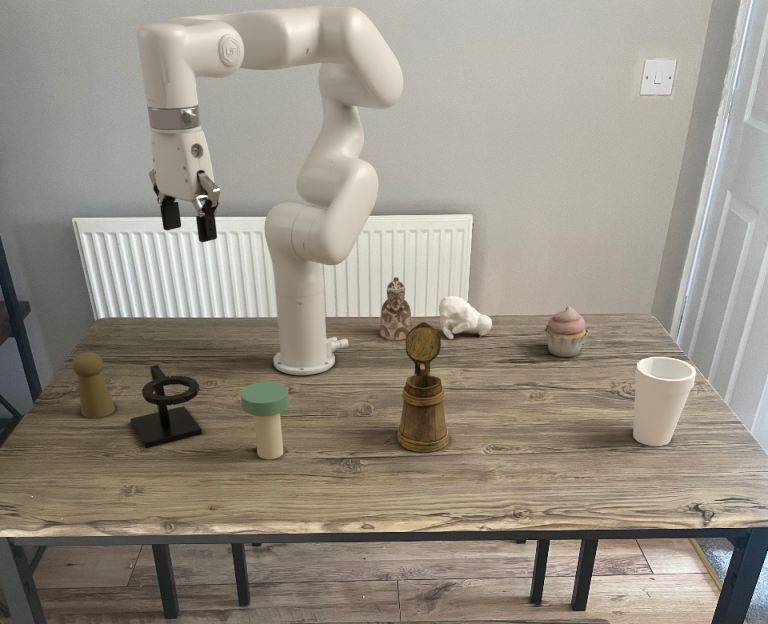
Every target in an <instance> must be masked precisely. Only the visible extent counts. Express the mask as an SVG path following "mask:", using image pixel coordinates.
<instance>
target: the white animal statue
mask: <svg viewBox="0 0 768 624" xmlns="http://www.w3.org/2000/svg"><path fill="white" fill-rule="evenodd" d="M438 314H439V320H438V321H439V325H440V328H441V330H442V332H443V334H444V335H445V337H446V338H448V340H454V334H460V333H462V332H465V331H471V330H474V331H477V334H478V335H479V338H481V337H482V336H486V335H487V333H488V332H489V331H491V329H492V327H493V321H492V318H491V317H490V316H488V315H486V314H483V313H480V312H479V311H478V310H476V309H475V307H473V306H471V304H470V303H469V302H467V301H466V300H465V299H464V298H462V297H460V296H456V295H447V296H445V297H442V299H441V300H440V302H439V305H438ZM453 325H455V327H453Z"/></svg>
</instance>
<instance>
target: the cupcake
mask: <svg viewBox="0 0 768 624" xmlns="http://www.w3.org/2000/svg"><path fill="white" fill-rule="evenodd" d="M542 329H543V328H542ZM543 332H544V334H545V337H546V341H547V342H546V343H547V348H548V351H549V353H550V354H552V355H554V356H556V357H561V358H572V357H575V356H577V355H578V354H579V353H580V351H581V348H582V346H583V343H584V341H585V339H586V338H587V336H588V334H589V332H590V330H589V329H586V321H585V319H584V318H583V316H582V315H580V314H579V313H578V312H577V311H576V309H574V308H573V307H572V306H569V305H567V306H566V308H565V309H564V310H560V311H558V312H556V313H554V315H553V316H551V317H550V318H549V319H548V321H547V324H545V328H544V329H543Z"/></svg>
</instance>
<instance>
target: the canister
mask: <svg viewBox="0 0 768 624" xmlns="http://www.w3.org/2000/svg"><path fill="white" fill-rule="evenodd" d="M240 399H241V408H242V411H243V412H244V413H246V414H248V415H250V416H252V417H253V418H252V419H253V426H254V427H253V428H254V437H255V445H256V453H257V456H258V457H259V458H260V459H263V460H275V459H278V458H281V456H283V454H284V443H283V432H282V421H281V413H284V412H285V411H286V410H287V409H288V408H289V405H290V398H289V389H288V388H287V387H286V385H284V384H282V383H279V382H274V381H260V382H255V383H253V384H252V383H251V384H249V385H247V386H245V387H244V388H242V390H241V392H240Z"/></svg>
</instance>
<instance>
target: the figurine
mask: <svg viewBox="0 0 768 624" xmlns="http://www.w3.org/2000/svg"><path fill="white" fill-rule="evenodd" d="M405 295H406V286H405V285H404V284H403V283H402V282H401V281H400V280H399V277H397V276H395V277H393V280H392V281H390V282H389V283H388V285H387V287H386V297H387V298H386V300H385V301H384V302H383V303H382V306H381V308H380V309H381V310H380V322H379V327H378V329H379V330H378V331H379V332H378V333H379V336H381V337H382V338H385V339H386V340H387V341H388V340H389V341H401V340H406V338H407V334H408V333H409V332H410V331H411V330H412V329H413V325H412V324H413V322H412V309H411V306H410V304H409V303H408V301H407V300H406V299H405V298H406V297H405Z"/></svg>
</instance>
